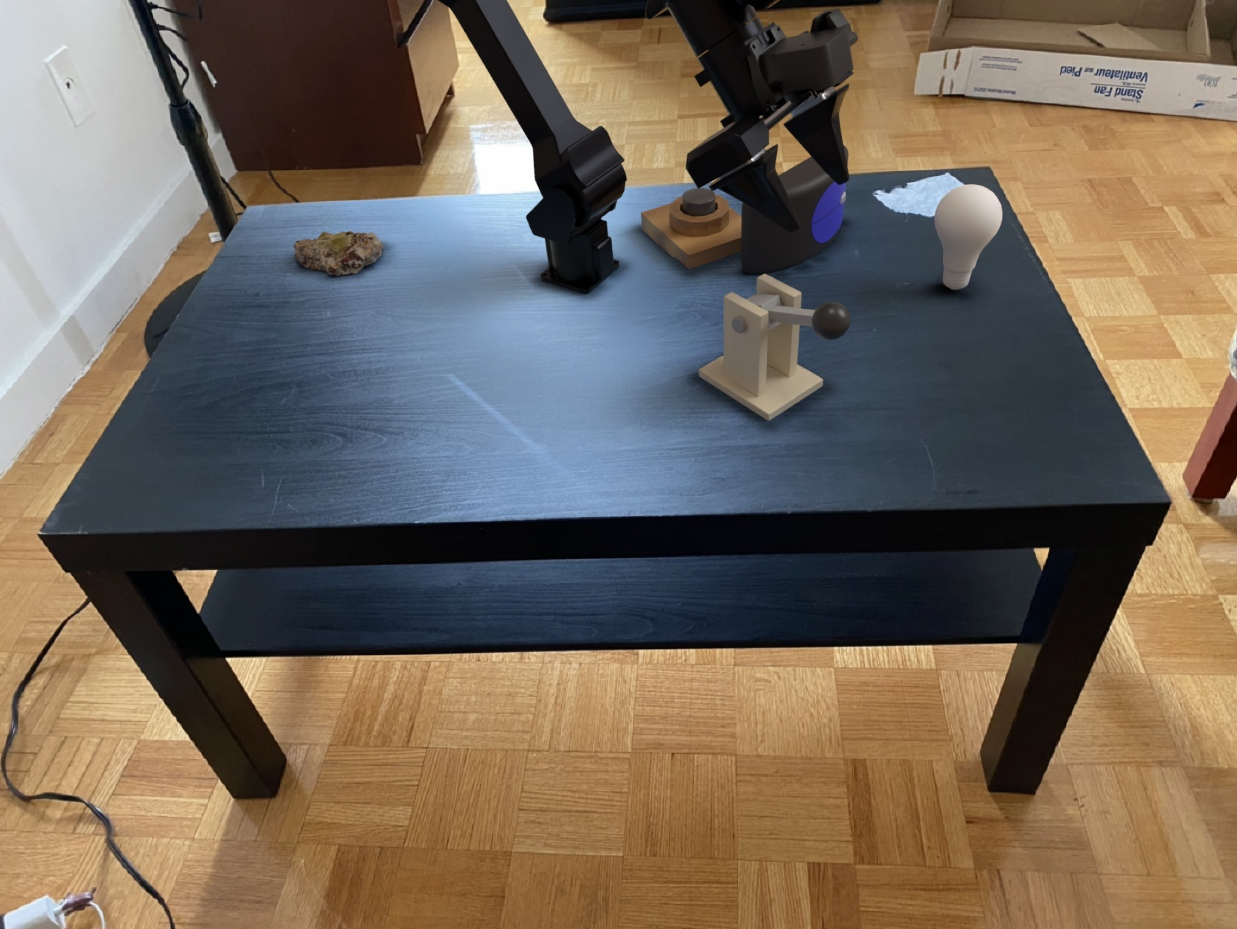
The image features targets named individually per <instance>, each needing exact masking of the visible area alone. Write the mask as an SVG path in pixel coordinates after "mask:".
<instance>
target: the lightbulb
mask: <svg viewBox="0 0 1237 929" xmlns="http://www.w3.org/2000/svg"><path fill="white" fill-rule="evenodd" d="M933 218H934V228H935V231H936V234H937V236H938V238H939V241H940V243H941V247H942V266H943V273H942V283H943V285H944V286H945V287H947V288H949V289H950V290H952V291H957V290H962V289H965V288H966V287H967V286H968V285H969V283H970V279H971V276H972V272H973V270H974V269H975V268H976V265H977V261H978V259H979V257H980V254H981V253H982V252H983V250H984V248H985V247H987V245H988V244H989V243H990V242H991V241H992V240H993V238H994V237H995V236H996V235H997V233H998V232H999V230H1000V227H1001V224H1002V222H1003V207H1002V204H1001V202H1000V200H999V198H998V196H997V195H996V194H995V193H994V192H993V191H992V190H991V189H989V188H987V187H985V186H983V185H980V184H972V183H971V184H963V185H960V186H957V187H954V188H952V189H951V190H950V191H948V192H947V193H946V194H945V195H944V196H943V197H942V198H941V199H940V201H939V202H938V204H937V206H936V209H935V211H934V217H933Z"/></svg>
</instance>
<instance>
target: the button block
mask: <svg viewBox="0 0 1237 929" xmlns="http://www.w3.org/2000/svg"><path fill="white" fill-rule="evenodd" d="M741 216H742V214H739V213H738V212H737V211H735V210H734V209H733V208H732V207H730V203H729V201H728V200H727V199H725V198H724V197H723V196H722V195H719V194H716V193H715V212H714V213H712V214H709V215H706V216H696V217H694V216H690V215H686V214H684V213H683V206H682V195H681V196H678V197H676V198H675V199H674V200H673V201H672V202H670V203H667V204H663V205H661V206H657V207H654V208H652V209H649V210H645V211H642V212H640V220H641V230H642V231H643V232H644V233H645V234H646V235H648V237H649V238H650V239H651V240H653V241H654V242H655V243H656V244H657V245H658V246H659V247H660V248H661V249H662V250H663V251H665V252H666V253H667V254H668V255H669V256H670V257H671V258H672V259H673V258H675V259H676V260H677V261H678V262H680V263H681V265H683V266H684V267H685V268H686V269H687V270H691V269H695V268H698V267H700V266H704V265H706V264H710V263H712V262H715V261H718V260H722V259H724V258H728V257H730V256H733V255H737V254H738V253H741Z"/></svg>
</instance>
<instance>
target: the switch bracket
mask: <svg viewBox="0 0 1237 929" xmlns="http://www.w3.org/2000/svg"><path fill="white" fill-rule="evenodd" d="M756 293H762V294H771V295H779V297H780V302H781V306H785V307H793V308H801V309H802V297H803V296H802V294H803V293H802V291H800V290H798V289H796V288H794V287H792V286H790V285H788V284H786V283H784V282H783V281H780V280H778V279H776V278H775V277H773V276H771V275H769V274H768V273H764V274H760V275H759V276H757V277H756ZM746 299H747V298H744V297H743V296H740V295H739V294H737V293H735V292H733V291H730V292H729V293H727V294H725V295H724V296H723V354H722V355H721V356H719V357H717V358H716V359H714V360H713V361H710V362H709V363H707V364H705V365H704V366H702V367H701V368H699V369H698V377H700V379H703V380H704V381H706V382H707V383H709V384H710V385H711V386H713V387H715V388H716V389H718V390H720V392H722V393H724V394H726V395H727V396H729V397H730V398H732V400H733V399H734V400H735V401H736V402H738V403H740V404H741V405H743V406H744V407H746V408H747V409H749V410H751V412H754V413H755V414H757V415H758V416H760V417H761V418H763V419H764V420H766V421H767V422H769V421H771V420H773V419H775V418H776V417H777V416H779V415H780V414H782V413H784V412H785V411H787V410H788V409H789V408H792V407H793V406H794V405H795V404H797V403H799V402H801V401H802V400H804V399H805V398H806V397H809V395H811V394H813V393H814V392H816V391H817V390H819V389H821V388H823V386H824V379H823V378H821V377H820V376H818V375H817V374H815V373H813V372H812V371H810V370H808V369H806V368H805V367H803V366H801V365H799V364H798V359H799V358H798V357H799V343H800V329H801V328H800V326H801V325H794V324H787V323H780V324H779V325H777V326H775V327H774V328H772V329H770V330H769V331H768V311H766V310H764V309H762V308H760V307H759V306H757V305H755V304H753V303H751V302H749V301H748V300H746Z"/></svg>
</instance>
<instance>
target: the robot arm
mask: <svg viewBox="0 0 1237 929" xmlns="http://www.w3.org/2000/svg"><path fill="white" fill-rule="evenodd" d="M437 1H438V2H440V3H441V4H443V5H444V6H445V7H447V8H448V9H449V10H450V11H451V12H452V13H453V15H454V17H455V19H456V21H457V23H458V24H459V25H460V27H461V29H462V30H463V32H464V33H465V35H466V38H467V39H468V40H469V42H470V44H471V46H472V47H473V49H474V51H475V53H476V54H477V56H478V57H479V60H480V61H481V62H482V65H483V66H484V68H485V70H486V71H487V72H488V74H489V76H490V78H491V80H492V81H493V83H494V84H495V86H496V88H497V89H498V91H499V93H500V95H501V96H502V98H503V99H504V102H505V103H506V105H507V106H508V108H509V110H510V112H511V113H512V115H513V117H514V118H515V120H516V121H517V123H518V125H519V127H520V129H521V130H522V131H523V133H524V135H525V137H526V139H527V140H528V141H529V142H528V143H529V144H530V146H531V148H532V162H533V175H534V176H533V177H534V178H533V179H534V182H535V184H536V186H537V188H538V191H539V192H540V195H541V197H542V199H540V200H539V202H538V203H536V205H535V206H534V207H532V209H531V210H530V211H528V213H527V214H526V215H525V219H526V223H527V224H528V227H529V229H530V231H531V233H532V235H533V236H535V237H538V238H541V239H544V242H545V243H544V244H545V251H546V258H547V263H548V264H547V265H548V267H547V268H546V269H545V270H544V271H543V272H541V273H540V274H539V276H540V280H541V281H544V282H547V283H550V284H554V285H556V286H560V287H563V288H566V289H570V290H573V291H576V292H579V293H583V294H589V293H591V292H592V291H593V290H595V289H596V288H597V287H598V286H599V285H600V284H601V283H602V282H604V281H605V280H606V279H607V278H608V277H609V276H611V275H612V274H613V273H614V272H615V271H616V270H617V269H619V268H620V266H621V264H620V261H619V259H614V251H613V240H612V237H611V236H609V229H608V227H609V226H608V221H607V220H605V219H602V218H604V217H605V216H606V215H607V214H609V213H610V212H613V211H614V210H616V207H617V204H618V200H619V199H620V198H622V197H623V196H624V193H625V190H626V183H627V181H628V177H627V173H626V170H625V168H624V165H623V163H624V162H625V161H626V160H625V158H624V157H623V156H622V155H621V154H620V153H619V151H618V150H617V149H616V147H615V144H614V143H613V141H612V139H611V136H610V134H609V132H608V130H607V129H606V128H605V127H604V126H603V125H599V126H597V127H596V128H594V129H593V130H592V129H590V128H589V127H587V126H586V125H584V124H583V123H581V122H580V121H578V120H577V119H576V118H575V117H574V115H573V114H572V111H571V110H570V108H569V106H568V104H567V102H566V101H565V100H564V98H563V96H562V95H561V93H560V91H559V88H558V87H557V85H556V84H555V81H554V80H553V78H552V77H551V75H550V73H549V71H548V70H547V68H546V67H545V65H544V63H543V61H542V59H541V58H540V57H541V56H539V54H538V52H537V51H536V49H535V47H534V45H533V43H532V42H531V40H530V38H529V36H528V35H527V32H526V31H525V30H524V28H523V26H522V24H521V23H520V21H519V18H518V17H517V15H516V13H515V12H514V10H513V9H512V6H511V5H510V3H509V2H508V0H437ZM778 2H780V0H647V2H646V7H645V12H644V16H645V18H646V19H647V20H652V19H654V18H655V17H657V16H659V15H661V14H663V13H664V12H666V11H669V13H670V15H671V17H672V18H673V20H674V21H675V23H676V25H677V27H678V29H679V30H680V32H681V33H682V35H683V37H684V39H685V41H686V43H687V44H688V46H689V48H690V49H691V51H692V53H693V55H694V57H695V58H696V60H697V62H698V63H699V65H700V67H701V69H702V70H701V71H700V72H698V73H697V74H695V75H694V77H693V78H694V79H695V80H696V82H697V84H698V87H699V88H702V87H703V86H705V85H707V84H708V83H710V85H711V86H712V88H713V90H714V91H715V93H716V95H717V97H718V99H719V100H720V102H721V104H722V106H723V108H724V109H725V111H726V112H727V115H726V116H724V117H723V118H721V120H719V122H720V124H721V126H722V127H723V128H722V129H720V130H718V131H716V132H715V133H712V134H711V135H710V136H708V137H707V138H706V139H704V140H703V141H702V142H700V143H699V144H698V145H697V146H695V147H694V148H693V149H691V150H690V151H689V152H687V154H686V160H685V171H686V172H687V173H688V175H689V178H691V180H692V182H693V184H694V185H695V188H698V189H699V188H704V187H705V186H706V185H708V184H709V185H708V189H710V190H712V191H713V192H715V191H716V190H720V191H721V192H723V193H725V194H727V195H728V196H730V197H732V198H734V199H735V200H738V201H739V202H741V203H745V204H746V205H748V206H750V207H751V208H753V209H755V210H756V211H757V212H759V213H760V214H762V215H763V216H765V217H766V218H768V219H769V220H771V221H772V222H774V223H775V224H777V225H779V226H780V227H782V228H783V229H785V230H786V231H788V232H789V233H792V232H794V231H797V230H798V229H799V228H800V227H801V225H800V222H799V219H798V217H797V214H796V212H795V209H794V207H793V205H792V203H791V201H790V199H789V197H788V195H787V192H786V190H785V188H784V186H783V184H782V182H781V180H780V178H779V176H778V175H779V174H778V171H777V168H776V165H777V158H778V151H779V144H778V143H776V144H775V145H772V146H771V147H769V148H767V147H768V146H769V145H770V130H772V129H773V128H774V127H775V126H776V125H778V124H779V123H780V122H782V120H783V119H785V118H786V117H787V116H789V115H791V117H790V118H788V119H787V120H786V121H785V122H784V123H783V127H784V128H785V129H786V130H787V131H788V132H789V133H790V135H792V138H794V139H795V140H796V141H797V142H798V143H799V145H800V146H801V147H802V148H803V149H804V150H805V151H806V152H807V154H808V155H809V157H812V158H813V159H814V160H815V161H816V162H817V163H818V165H819V166H820V167H821V168H822V169H823V170H824V171H825V172H826V173H827V175H829V176H830V177H831V178H832V179H833V180H834V181H835V182H836V183H837V184H838V185H842V184H844V183H846V184H847V183H848V182H849V180H850V179H851V178H850V172H849V168H848V167H849V165H848V166H847V161H846V155H845V150H844V145H845V144H844V140H843V134H842V127H841V120H840V111H841V108H842V106H843V102H844V99H845V96H846V94H847V92H848V91H849V89H850V83H846V84H844V85H842V84H843V83H845V81H847V80H848V79H849V78H850V77H852V76H853V75H854V73H855V72H853V70H854V62H853V56H852V50H851V47H853V46H854V45H855V44H856V43H857V42H858V41H859V40H858V39H859V37H858V36H859V35H858V34H857V32H855V31H853V29H852V27H851V23H849V21H848V20H847V18H846V17H845V15H844V14H843V13H842V11H841V9H840V8H834V9H828V10H827V9H826V10H824V11H822V12H820V13H819V14H818V15H816V16H815V17H813V19H812V23H811V26H810V30H804V31H803V32H801V33H799V34H798V35H793V36H789V37H787V35H786V34H785V33H784V31H783V29H782V27H781V26H780V25H779V24H776V23H775V21H773V22H771V23H769V24H768V25H766V26H764V24H763V23H762V20H761V19H760V17H759V16H758V13H757V11H756V10H755V9H757V10H767V9H769V8H771V7H773V5H775V4H777V3H778ZM841 85H842V86H841ZM839 86H840V87H839ZM837 87H839V88H837ZM836 88H837V89H836ZM766 148H767V149H766Z"/></svg>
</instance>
